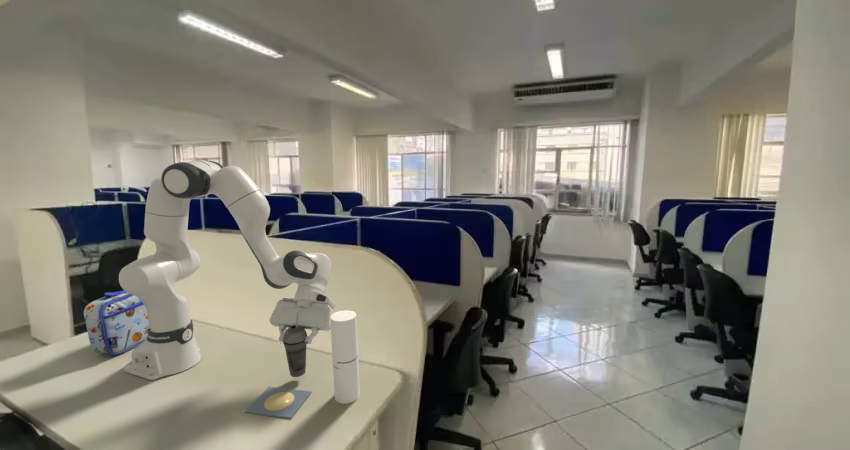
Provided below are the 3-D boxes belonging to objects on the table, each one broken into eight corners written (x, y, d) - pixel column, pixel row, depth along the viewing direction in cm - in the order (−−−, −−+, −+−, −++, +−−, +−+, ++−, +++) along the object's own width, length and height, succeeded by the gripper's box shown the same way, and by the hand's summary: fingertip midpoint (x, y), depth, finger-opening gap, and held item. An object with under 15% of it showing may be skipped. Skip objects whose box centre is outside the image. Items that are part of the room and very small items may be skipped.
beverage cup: (289, 366, 113) (284, 308, 110) (312, 365, 114) (308, 307, 110) (282, 380, 106) (277, 318, 103) (306, 379, 107) (302, 317, 103)
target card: (244, 412, 96) (244, 411, 96) (268, 387, 107) (268, 386, 107) (291, 418, 94) (291, 417, 94) (311, 392, 104) (311, 391, 104)
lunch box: (108, 364, 120) (97, 303, 116) (84, 360, 122) (72, 300, 118) (178, 327, 146) (171, 277, 143) (158, 325, 148) (150, 275, 145)
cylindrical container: (353, 405, 99) (350, 322, 94) (330, 402, 100) (325, 320, 96) (363, 389, 106) (360, 311, 101) (341, 386, 107) (337, 309, 103)
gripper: (275, 293, 114) (258, 336, 107) (333, 297, 111) (321, 341, 103) (283, 301, 120) (268, 342, 112) (340, 305, 116) (329, 347, 108)
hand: (294, 342), depth 107 cm, fingers closed on beverage cup, 7 cm apart
